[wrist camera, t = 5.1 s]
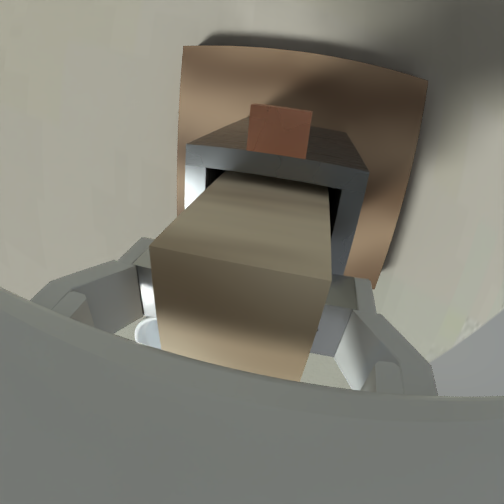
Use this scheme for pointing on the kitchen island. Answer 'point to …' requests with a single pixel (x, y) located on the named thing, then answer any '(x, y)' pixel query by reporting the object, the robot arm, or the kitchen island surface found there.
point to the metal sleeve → (286, 164)
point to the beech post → (245, 274)
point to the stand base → (314, 121)
